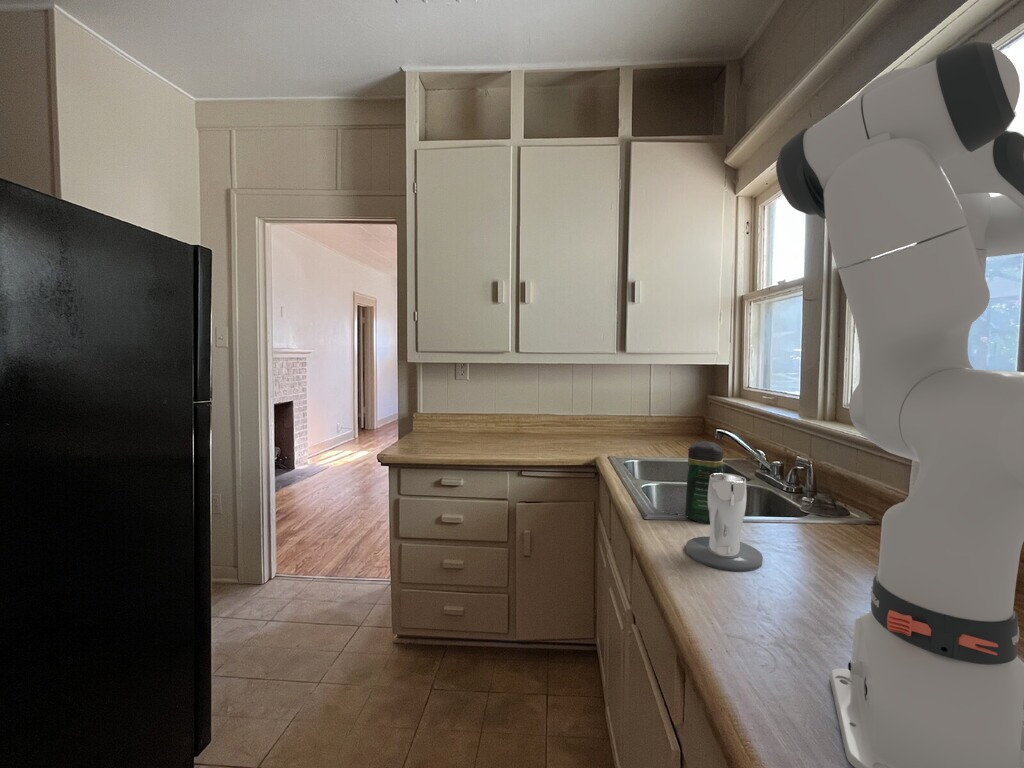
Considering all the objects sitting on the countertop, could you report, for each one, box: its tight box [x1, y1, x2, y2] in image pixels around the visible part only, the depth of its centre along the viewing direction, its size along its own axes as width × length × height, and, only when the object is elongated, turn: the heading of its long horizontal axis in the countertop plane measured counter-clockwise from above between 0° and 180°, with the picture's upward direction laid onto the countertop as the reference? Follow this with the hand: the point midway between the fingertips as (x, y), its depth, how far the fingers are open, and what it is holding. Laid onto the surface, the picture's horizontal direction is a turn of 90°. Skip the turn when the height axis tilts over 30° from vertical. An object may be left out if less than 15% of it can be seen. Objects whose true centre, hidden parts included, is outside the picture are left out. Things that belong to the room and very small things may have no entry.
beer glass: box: [708, 472, 748, 558], centre depth 95 cm, size 7×7×15 cm
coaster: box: [685, 536, 764, 572], centre depth 96 cm, size 14×14×1 cm
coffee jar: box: [684, 440, 724, 524], centre depth 117 cm, size 10×8×19 cm
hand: (938, 363), depth 75 cm, fingers open, 8 cm apart
